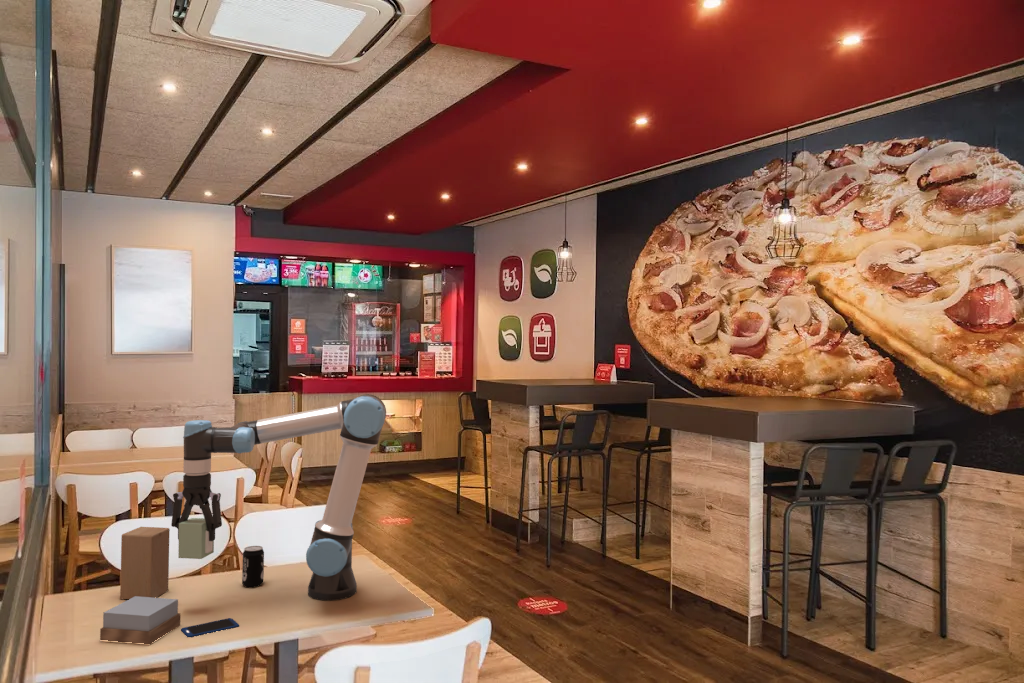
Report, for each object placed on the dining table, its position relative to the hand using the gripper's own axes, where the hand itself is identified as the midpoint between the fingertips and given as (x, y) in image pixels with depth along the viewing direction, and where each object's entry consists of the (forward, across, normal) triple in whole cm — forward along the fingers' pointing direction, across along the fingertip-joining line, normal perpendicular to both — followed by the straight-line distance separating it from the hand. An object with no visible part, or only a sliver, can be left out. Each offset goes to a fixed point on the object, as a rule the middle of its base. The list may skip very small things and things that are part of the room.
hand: (196, 551), depth 219 cm
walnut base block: (+18, +5, +18) cm, 26 cm away
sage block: (+1, 0, 0) cm, 1 cm away
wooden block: (+17, +22, -10) cm, 30 cm away
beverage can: (+18, -6, -25) cm, 31 cm away
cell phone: (+18, -11, +12) cm, 24 cm away
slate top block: (+14, +5, +18) cm, 23 cm away
